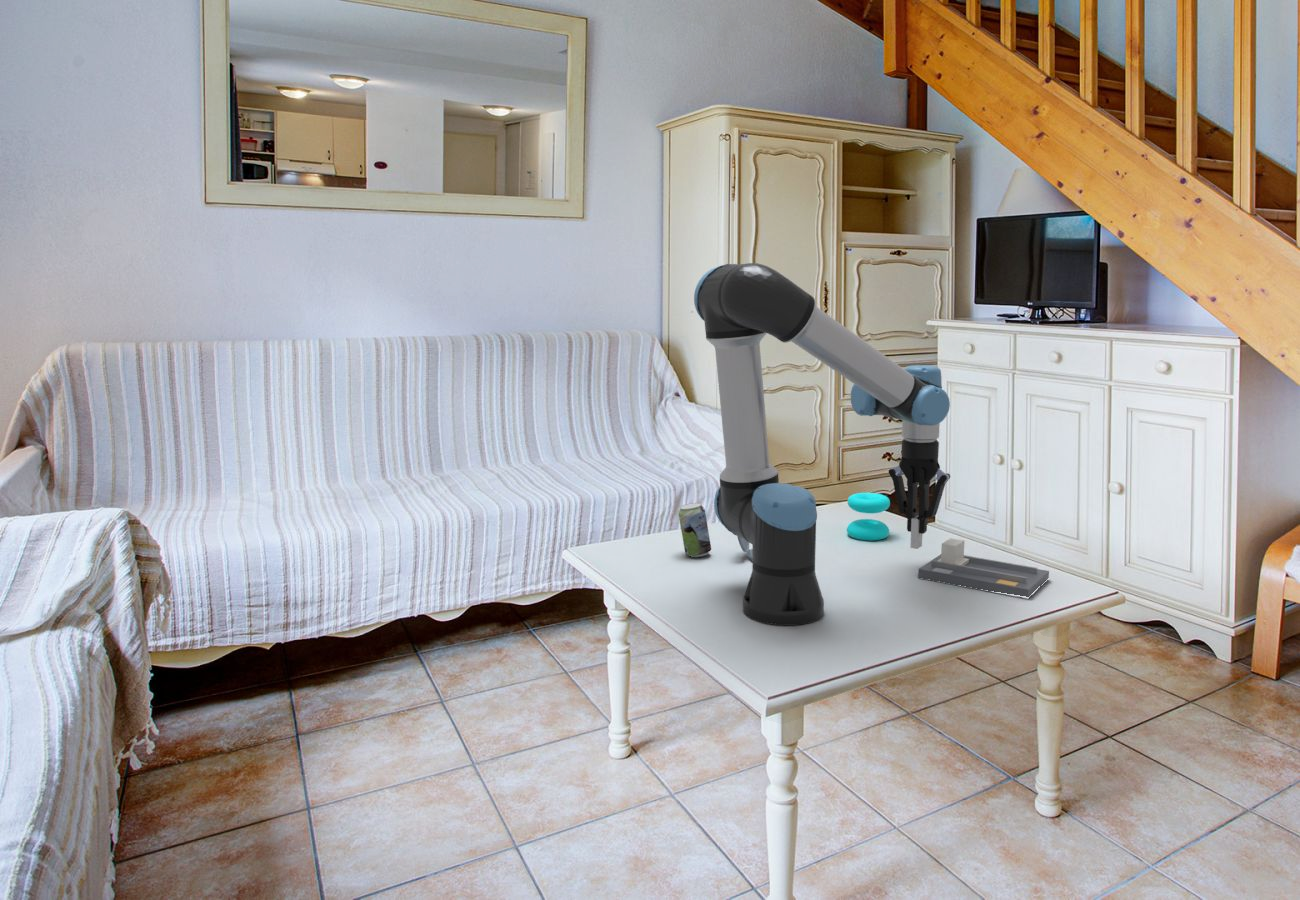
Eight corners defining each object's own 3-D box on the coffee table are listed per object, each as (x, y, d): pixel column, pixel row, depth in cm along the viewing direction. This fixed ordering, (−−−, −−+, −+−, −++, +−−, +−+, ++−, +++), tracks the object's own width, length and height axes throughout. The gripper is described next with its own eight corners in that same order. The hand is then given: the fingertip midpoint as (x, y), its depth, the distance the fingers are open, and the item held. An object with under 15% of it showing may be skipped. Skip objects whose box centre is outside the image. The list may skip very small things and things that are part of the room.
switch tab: (958, 569, 185) (959, 547, 185) (935, 565, 188) (936, 543, 188) (968, 562, 190) (970, 540, 189) (945, 558, 193) (946, 536, 192)
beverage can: (711, 559, 202) (711, 507, 200) (679, 559, 202) (678, 507, 200) (710, 551, 208) (710, 500, 206) (678, 551, 208) (678, 501, 206)
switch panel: (1028, 599, 174) (1029, 583, 173) (918, 578, 187) (918, 563, 186) (1048, 580, 184) (1049, 565, 184) (943, 561, 198) (943, 547, 197)
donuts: (891, 492, 220) (889, 502, 210) (889, 532, 221) (888, 543, 212) (849, 490, 222) (845, 499, 213) (848, 529, 224) (844, 540, 215)
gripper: (957, 439, 188) (952, 547, 193) (898, 433, 196) (894, 538, 201) (944, 444, 182) (939, 556, 187) (883, 438, 190) (880, 546, 195)
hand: (916, 546), depth 194 cm, fingers closed
